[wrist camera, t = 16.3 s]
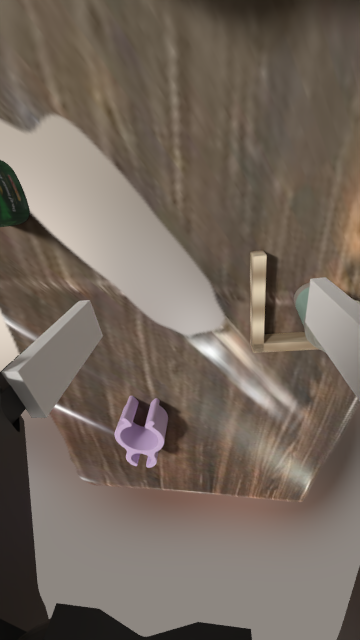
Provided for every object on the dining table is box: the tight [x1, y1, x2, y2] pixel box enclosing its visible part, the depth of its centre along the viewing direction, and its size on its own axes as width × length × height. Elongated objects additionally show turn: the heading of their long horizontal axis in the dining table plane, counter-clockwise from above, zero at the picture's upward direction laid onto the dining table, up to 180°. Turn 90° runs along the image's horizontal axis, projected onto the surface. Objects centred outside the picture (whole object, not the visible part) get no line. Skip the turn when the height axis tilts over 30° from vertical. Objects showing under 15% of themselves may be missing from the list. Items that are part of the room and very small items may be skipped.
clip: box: [115, 396, 168, 468], centre depth 63 cm, size 20×12×7 cm, turn 178°
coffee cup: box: [294, 283, 360, 352], centre depth 38 cm, size 8×8×12 cm
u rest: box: [250, 250, 318, 353], centre depth 42 cm, size 19×21×3 cm
